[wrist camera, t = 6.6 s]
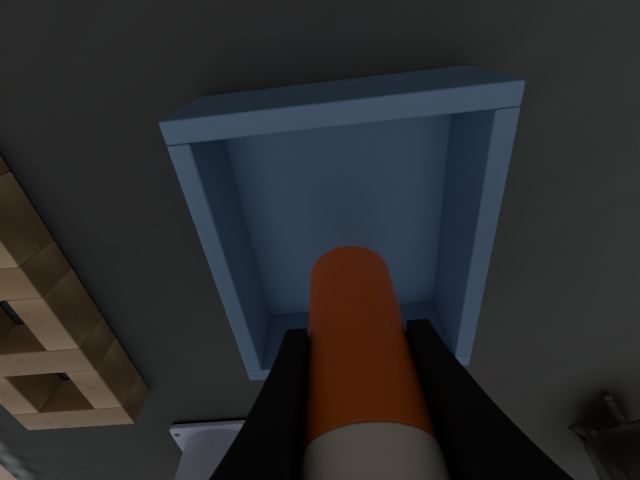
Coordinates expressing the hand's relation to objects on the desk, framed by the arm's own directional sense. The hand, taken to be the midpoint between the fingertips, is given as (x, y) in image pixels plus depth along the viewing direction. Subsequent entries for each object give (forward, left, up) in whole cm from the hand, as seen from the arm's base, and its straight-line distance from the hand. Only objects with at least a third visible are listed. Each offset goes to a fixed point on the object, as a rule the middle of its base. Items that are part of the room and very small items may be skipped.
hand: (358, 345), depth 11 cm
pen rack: (-4, +20, -8) cm, 22 cm away
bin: (0, 0, -8) cm, 8 cm away
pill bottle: (0, 0, -3) cm, 3 cm away
